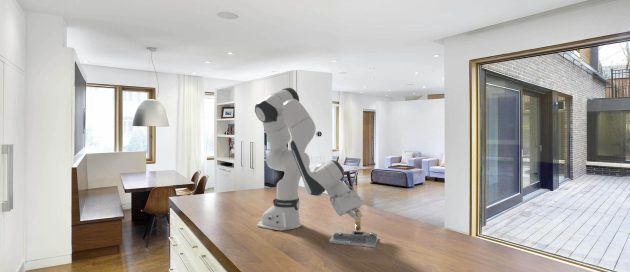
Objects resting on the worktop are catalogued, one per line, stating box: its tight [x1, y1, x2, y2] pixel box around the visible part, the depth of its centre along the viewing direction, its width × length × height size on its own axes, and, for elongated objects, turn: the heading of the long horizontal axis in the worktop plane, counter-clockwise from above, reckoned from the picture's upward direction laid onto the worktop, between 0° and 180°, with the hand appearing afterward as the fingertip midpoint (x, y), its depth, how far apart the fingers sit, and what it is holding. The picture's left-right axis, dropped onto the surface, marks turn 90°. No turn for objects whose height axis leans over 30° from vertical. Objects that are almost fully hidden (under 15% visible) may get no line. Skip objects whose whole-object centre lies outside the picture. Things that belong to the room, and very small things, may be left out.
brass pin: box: [354, 210, 362, 231], centre depth 149 cm, size 2×2×8 cm
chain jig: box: [328, 230, 379, 248], centre depth 150 cm, size 20×12×4 cm, turn 73°
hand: (359, 218), depth 148 cm, fingers closed on brass pin, 2 cm apart
